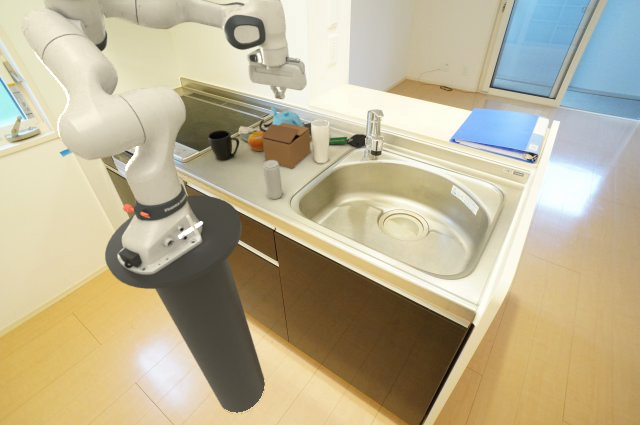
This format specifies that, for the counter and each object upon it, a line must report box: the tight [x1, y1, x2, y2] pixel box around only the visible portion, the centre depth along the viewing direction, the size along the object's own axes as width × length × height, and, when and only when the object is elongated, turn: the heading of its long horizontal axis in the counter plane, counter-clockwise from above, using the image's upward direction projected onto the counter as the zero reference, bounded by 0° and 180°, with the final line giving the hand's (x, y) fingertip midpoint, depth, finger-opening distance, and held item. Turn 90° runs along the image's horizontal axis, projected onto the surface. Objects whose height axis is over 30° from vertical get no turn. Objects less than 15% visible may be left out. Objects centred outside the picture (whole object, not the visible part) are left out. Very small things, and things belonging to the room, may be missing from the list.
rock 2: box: [346, 133, 367, 148], centre depth 129 cm, size 9×7×5 cm
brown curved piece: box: [258, 119, 273, 132], centre depth 144 cm, size 13×5×10 cm
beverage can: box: [262, 160, 283, 200], centre depth 100 cm, size 5×5×12 cm
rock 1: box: [239, 133, 252, 142], centre depth 135 cm, size 9×2×5 cm
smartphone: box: [304, 122, 312, 137], centre depth 141 cm, size 7×1×15 cm
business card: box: [329, 136, 348, 145], centre depth 131 cm, size 9×1×5 cm
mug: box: [207, 129, 240, 161], centre depth 121 cm, size 8×12×10 cm
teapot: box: [270, 106, 303, 127], centre depth 135 cm, size 13×11×18 cm
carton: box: [262, 123, 311, 169], centre depth 120 cm, size 14×12×10 cm
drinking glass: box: [310, 119, 331, 164], centre depth 116 cm, size 7×7×15 cm
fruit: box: [247, 130, 265, 152], centre depth 127 cm, size 8×8×8 cm
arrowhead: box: [238, 125, 257, 135], centre depth 141 cm, size 8×2×10 cm
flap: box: [262, 124, 299, 144], centre depth 114 cm, size 7×12×1 cm, turn 62°
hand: (279, 98), depth 108 cm, fingers closed
